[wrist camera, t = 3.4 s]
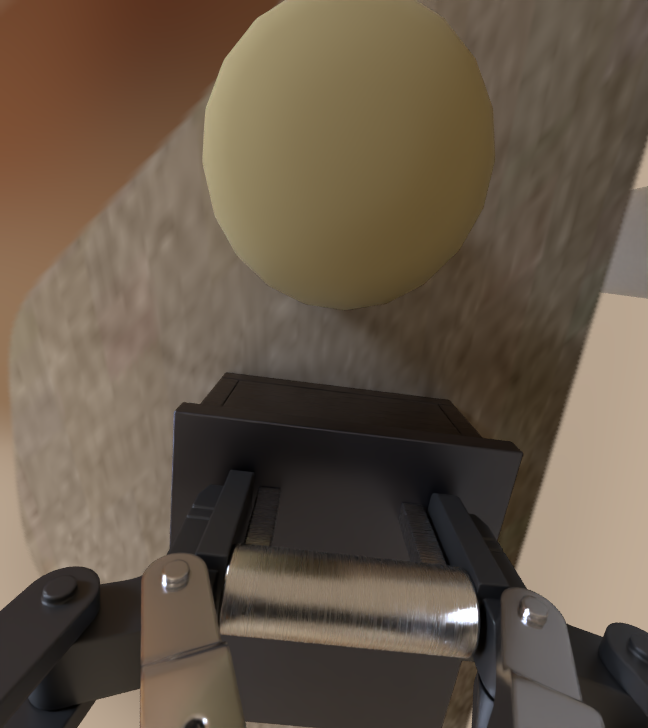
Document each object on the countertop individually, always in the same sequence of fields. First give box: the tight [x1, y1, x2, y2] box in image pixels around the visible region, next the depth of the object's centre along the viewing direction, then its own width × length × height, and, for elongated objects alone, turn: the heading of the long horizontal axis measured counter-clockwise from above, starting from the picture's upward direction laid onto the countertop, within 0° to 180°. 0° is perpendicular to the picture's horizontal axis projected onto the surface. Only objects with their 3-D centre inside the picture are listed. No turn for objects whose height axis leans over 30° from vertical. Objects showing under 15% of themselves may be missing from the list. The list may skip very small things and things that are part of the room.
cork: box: [202, 0, 495, 310], centre depth 11 cm, size 6×6×11 cm
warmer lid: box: [170, 402, 523, 728], centre depth 12 cm, size 12×11×5 cm
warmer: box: [201, 373, 482, 438], centre depth 17 cm, size 12×11×6 cm
